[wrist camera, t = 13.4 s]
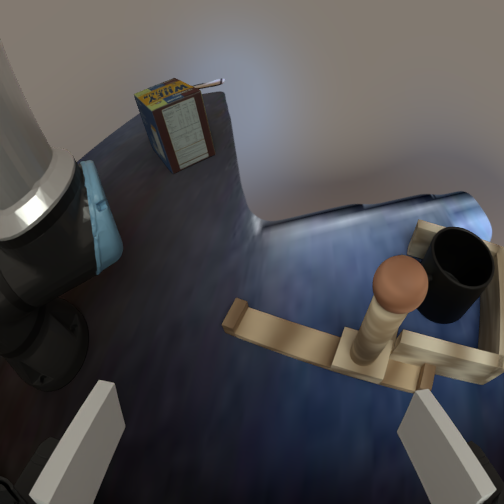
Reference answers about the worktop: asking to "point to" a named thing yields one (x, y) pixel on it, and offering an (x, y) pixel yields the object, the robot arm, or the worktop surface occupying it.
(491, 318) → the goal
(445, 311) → the mug
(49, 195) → the robot arm
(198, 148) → the protein box
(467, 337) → the worktop surface
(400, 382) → the rail
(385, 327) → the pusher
